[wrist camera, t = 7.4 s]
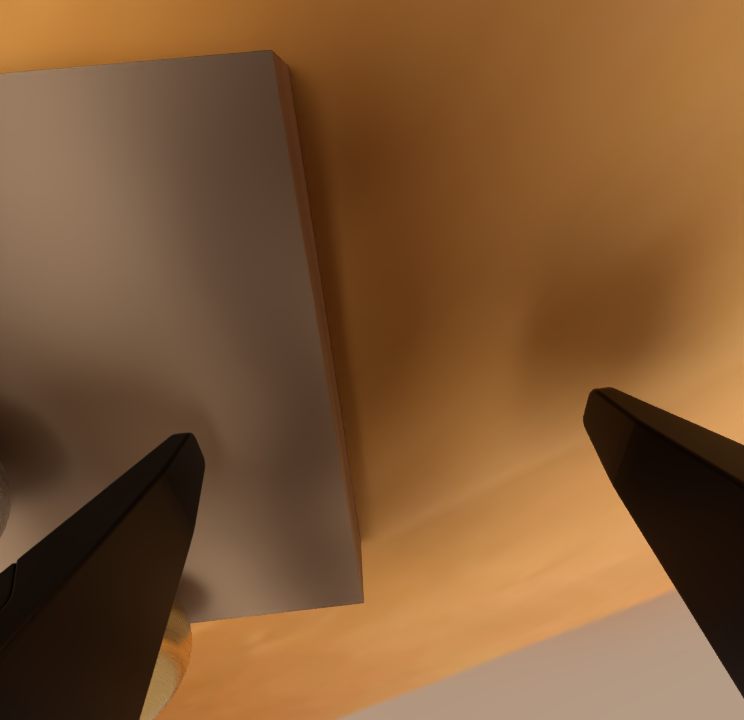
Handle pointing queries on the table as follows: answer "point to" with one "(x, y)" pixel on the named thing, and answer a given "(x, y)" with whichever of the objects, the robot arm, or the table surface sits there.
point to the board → (173, 320)
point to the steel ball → (4, 499)
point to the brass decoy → (169, 663)
